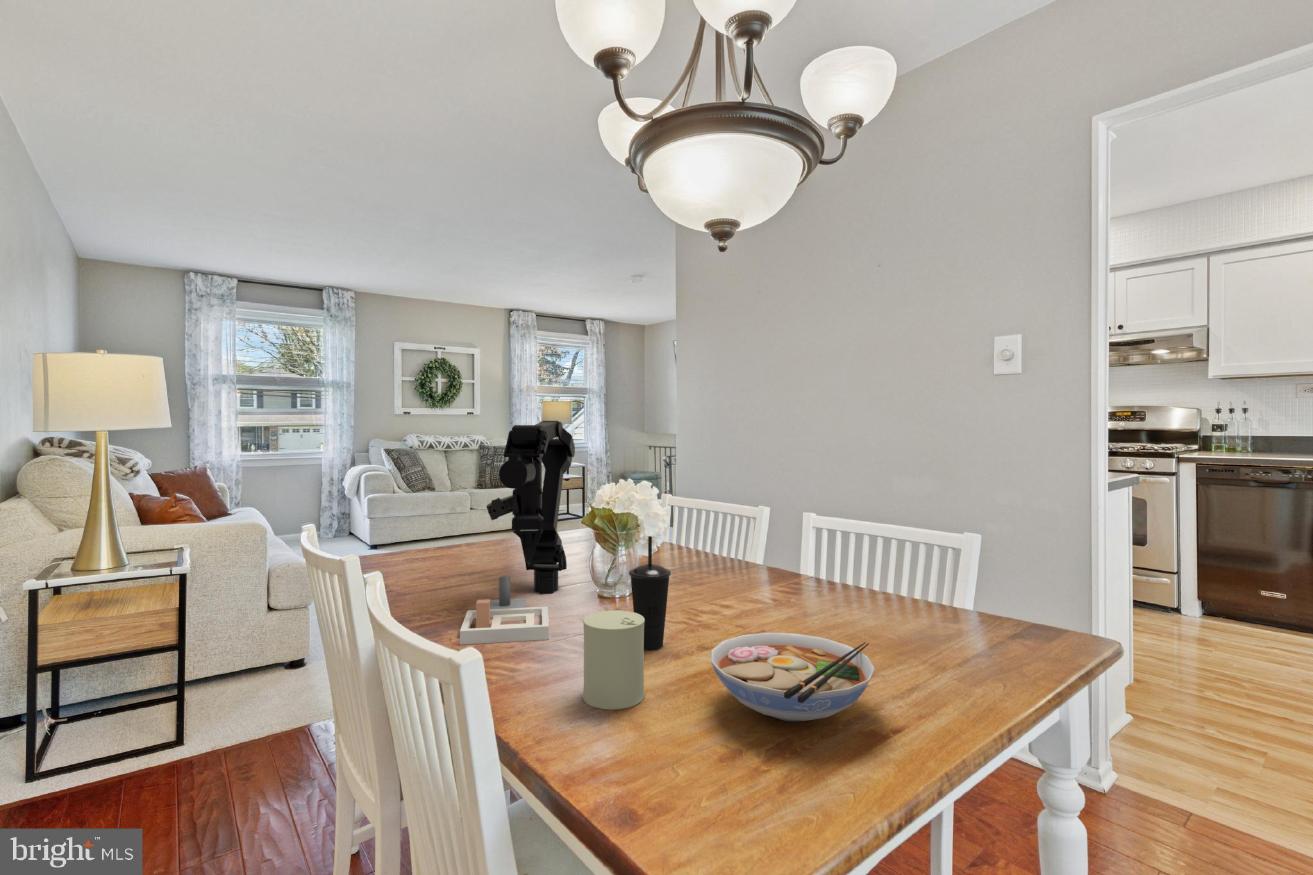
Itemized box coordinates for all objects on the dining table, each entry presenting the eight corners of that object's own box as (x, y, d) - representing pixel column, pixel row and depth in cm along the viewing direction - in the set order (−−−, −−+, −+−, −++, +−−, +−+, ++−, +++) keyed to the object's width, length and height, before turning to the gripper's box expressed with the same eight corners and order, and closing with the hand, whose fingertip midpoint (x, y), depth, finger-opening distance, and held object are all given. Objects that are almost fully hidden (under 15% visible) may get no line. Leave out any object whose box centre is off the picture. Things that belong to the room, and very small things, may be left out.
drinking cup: (622, 642, 117) (622, 534, 117) (659, 636, 120) (660, 531, 120) (638, 655, 110) (639, 541, 110) (677, 649, 113) (678, 538, 113)
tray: (467, 622, 128) (467, 610, 128) (547, 618, 131) (547, 606, 131) (459, 644, 115) (459, 631, 115) (548, 639, 118) (548, 626, 118)
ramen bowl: (763, 664, 106) (763, 616, 106) (901, 703, 92) (902, 647, 92) (671, 717, 87) (672, 658, 87) (828, 776, 73) (829, 706, 72)
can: (623, 715, 88) (623, 629, 87) (569, 701, 92) (570, 619, 92) (655, 691, 96) (656, 612, 95) (605, 679, 100) (605, 603, 100)
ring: (478, 622, 126) (478, 596, 126) (534, 619, 128) (534, 593, 128) (474, 636, 118) (474, 607, 118) (534, 632, 120) (534, 604, 120)
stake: (484, 605, 140) (484, 573, 140) (526, 603, 142) (526, 571, 142) (481, 617, 131) (481, 583, 131) (525, 615, 133) (525, 581, 133)
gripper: (492, 480, 142) (492, 549, 142) (485, 488, 123) (485, 568, 124) (542, 479, 144) (542, 548, 144) (543, 488, 125) (543, 566, 126)
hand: (528, 557), depth 134 cm, fingers open, 9 cm apart
